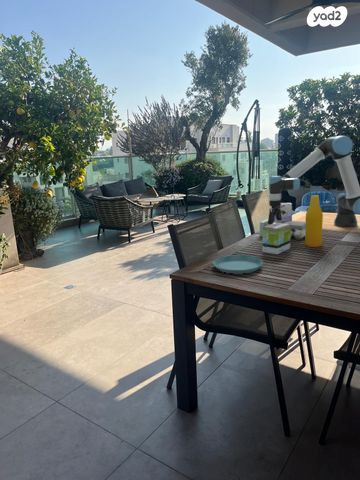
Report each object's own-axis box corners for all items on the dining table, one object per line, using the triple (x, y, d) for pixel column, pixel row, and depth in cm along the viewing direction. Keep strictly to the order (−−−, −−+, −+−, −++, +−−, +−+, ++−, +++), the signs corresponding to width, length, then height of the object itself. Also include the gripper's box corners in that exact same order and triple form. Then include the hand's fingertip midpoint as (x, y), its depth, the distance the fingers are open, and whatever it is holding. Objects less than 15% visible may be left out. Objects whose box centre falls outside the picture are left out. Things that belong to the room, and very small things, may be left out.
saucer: (211, 262, 184) (211, 256, 183) (257, 259, 183) (257, 253, 182) (215, 277, 161) (214, 270, 160) (267, 275, 160) (267, 268, 159)
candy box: (290, 223, 267) (290, 202, 263) (292, 225, 261) (292, 203, 257) (272, 224, 268) (272, 203, 264) (273, 225, 263) (273, 204, 259)
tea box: (278, 254, 189) (278, 228, 185) (262, 252, 195) (262, 226, 192) (290, 248, 199) (291, 223, 196) (274, 246, 206) (275, 222, 202)
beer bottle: (324, 244, 204) (326, 195, 197) (317, 247, 197) (319, 197, 190) (308, 242, 210) (310, 194, 203) (302, 245, 203) (303, 196, 197)
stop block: (272, 231, 244) (273, 218, 241) (264, 236, 231) (264, 222, 229) (268, 231, 245) (268, 218, 243) (259, 236, 233) (259, 222, 231)
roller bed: (310, 234, 229) (310, 225, 228) (302, 240, 216) (303, 230, 215) (290, 233, 236) (290, 224, 235) (282, 238, 224) (282, 229, 223)
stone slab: (308, 225, 227) (308, 221, 227) (301, 229, 216) (302, 225, 216) (290, 224, 234) (290, 220, 234) (283, 228, 223) (283, 224, 223)
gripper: (276, 197, 241) (275, 227, 246) (262, 202, 222) (262, 234, 227) (286, 197, 237) (286, 228, 242) (273, 202, 218) (273, 235, 223)
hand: (274, 231), depth 234 cm, fingers closed on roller, 12 cm apart
